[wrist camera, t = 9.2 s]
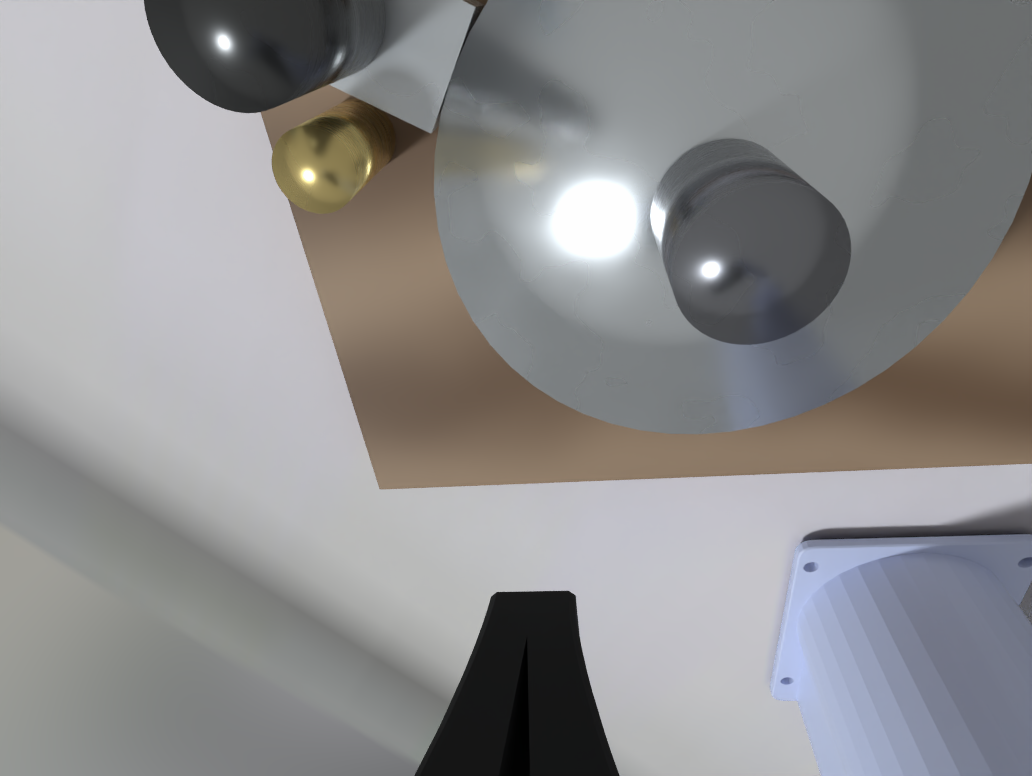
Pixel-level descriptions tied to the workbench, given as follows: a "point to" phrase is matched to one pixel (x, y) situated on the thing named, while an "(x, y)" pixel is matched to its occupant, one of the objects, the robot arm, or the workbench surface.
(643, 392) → the crank
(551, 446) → the base board
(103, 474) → the workbench surface
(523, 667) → the robot arm
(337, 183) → the dowel
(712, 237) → the post
